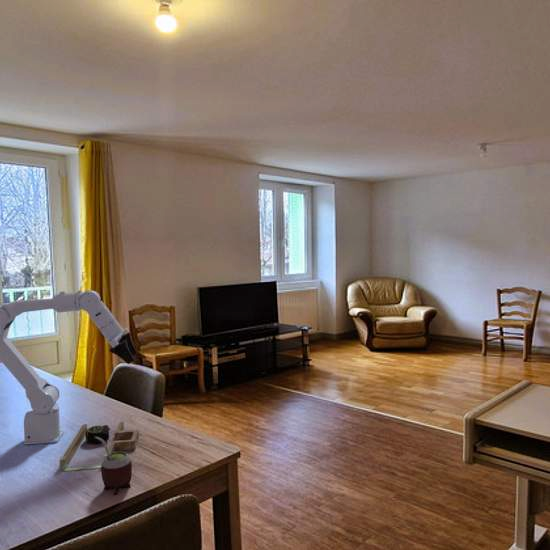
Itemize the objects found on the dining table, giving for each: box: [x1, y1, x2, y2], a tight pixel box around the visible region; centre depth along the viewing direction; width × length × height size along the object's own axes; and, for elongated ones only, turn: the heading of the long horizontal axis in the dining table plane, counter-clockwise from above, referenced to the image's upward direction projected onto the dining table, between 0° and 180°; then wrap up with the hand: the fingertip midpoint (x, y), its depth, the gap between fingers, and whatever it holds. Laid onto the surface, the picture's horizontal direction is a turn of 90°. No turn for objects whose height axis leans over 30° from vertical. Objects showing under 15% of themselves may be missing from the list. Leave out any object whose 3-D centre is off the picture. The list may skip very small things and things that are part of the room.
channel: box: [59, 421, 140, 472], centre depth 136 cm, size 18×26×3 cm
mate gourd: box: [95, 437, 133, 496], centre depth 113 cm, size 8×8×15 cm
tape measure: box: [84, 424, 111, 444], centre depth 142 cm, size 7×7×4 cm
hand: (132, 358), depth 148 cm, fingers open, 7 cm apart
